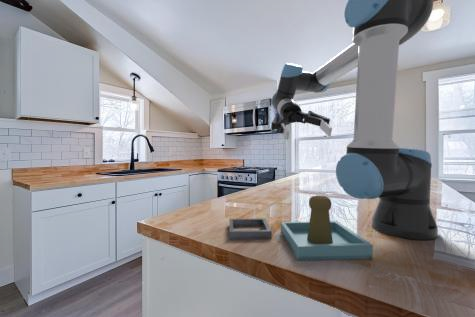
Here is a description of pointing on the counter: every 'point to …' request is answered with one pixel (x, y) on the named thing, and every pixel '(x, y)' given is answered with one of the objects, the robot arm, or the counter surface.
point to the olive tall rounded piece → (320, 221)
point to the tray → (340, 249)
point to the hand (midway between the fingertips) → (309, 133)
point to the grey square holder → (250, 233)
